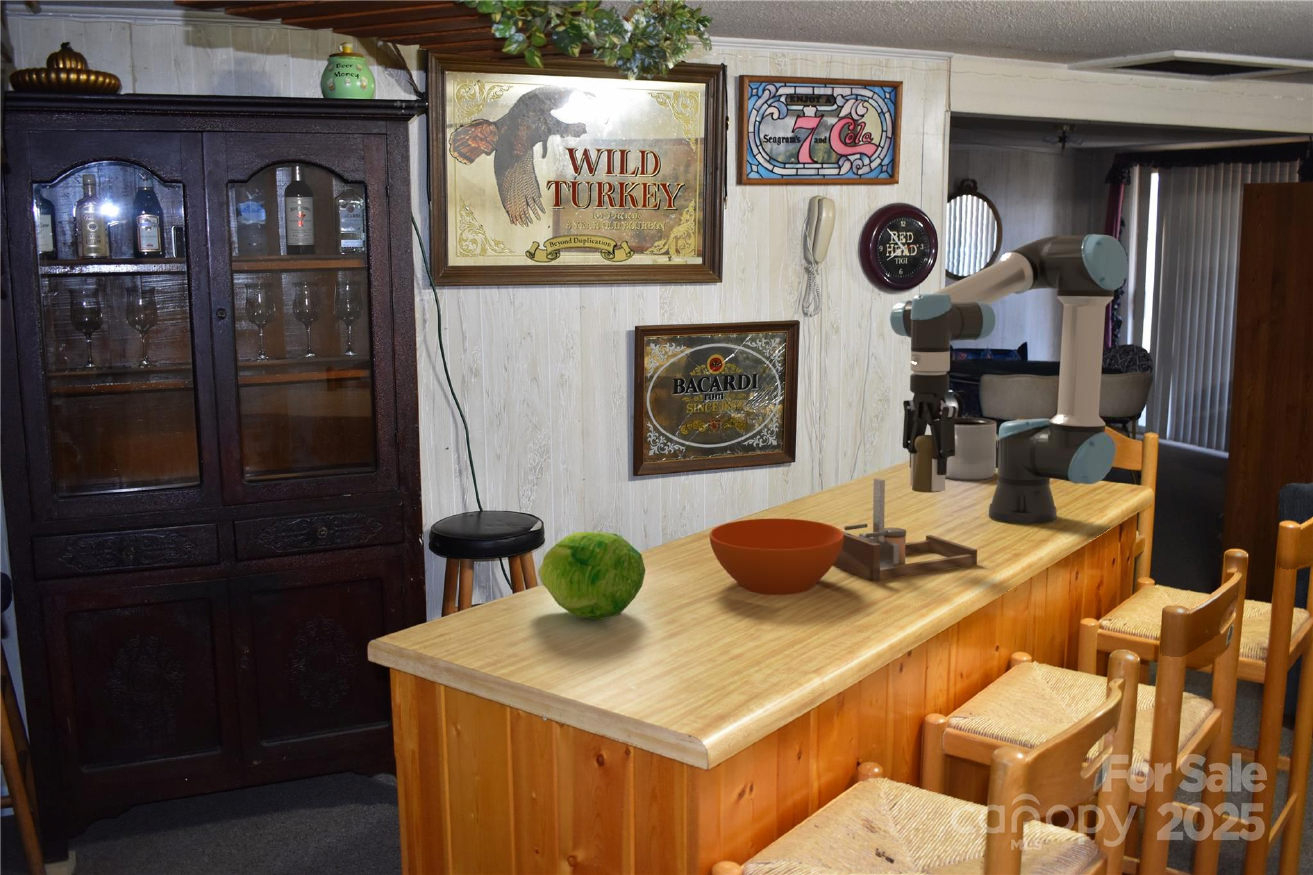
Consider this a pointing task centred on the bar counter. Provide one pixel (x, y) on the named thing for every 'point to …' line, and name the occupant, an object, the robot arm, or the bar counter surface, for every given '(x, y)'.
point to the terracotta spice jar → (897, 541)
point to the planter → (973, 450)
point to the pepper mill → (923, 464)
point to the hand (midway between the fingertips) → (927, 487)
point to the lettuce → (593, 574)
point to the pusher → (882, 527)
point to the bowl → (776, 553)
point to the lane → (866, 554)
